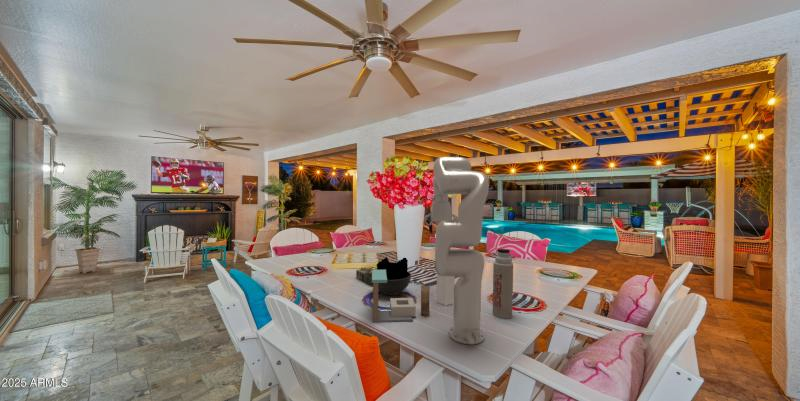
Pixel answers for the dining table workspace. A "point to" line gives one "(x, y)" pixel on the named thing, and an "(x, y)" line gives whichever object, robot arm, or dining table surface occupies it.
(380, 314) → the socket station
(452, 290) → the milk
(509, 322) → the dining table surface
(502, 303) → the thermos bottle
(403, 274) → the coal bowl
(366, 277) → the juice carton
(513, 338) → the dining table surface
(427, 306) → the peg
